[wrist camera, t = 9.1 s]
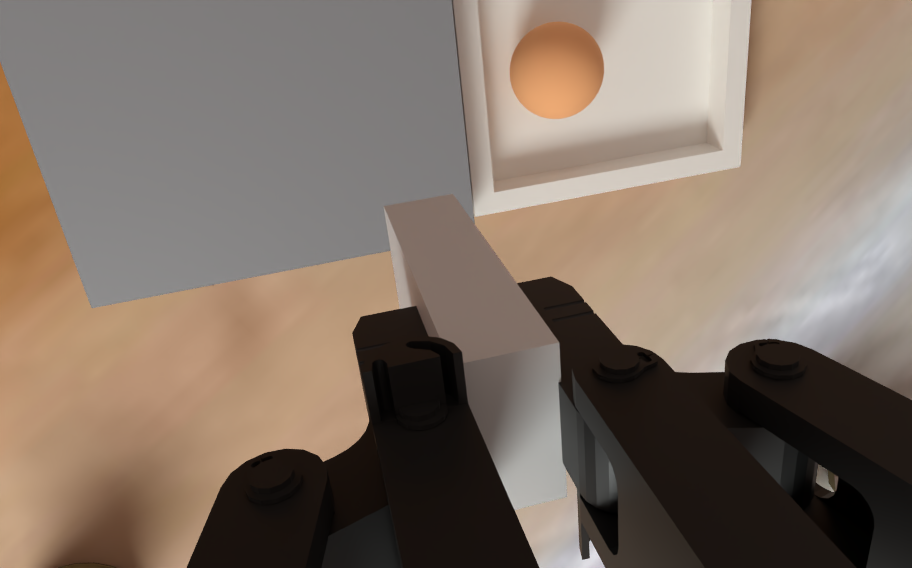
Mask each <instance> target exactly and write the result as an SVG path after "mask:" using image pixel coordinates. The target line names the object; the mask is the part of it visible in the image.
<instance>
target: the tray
mask: <svg viewBox="0 0 912 568" xmlns="http://www.w3.org/2000/svg"><path fill="white" fill-rule="evenodd" d="M452 8H453V18H454V28H455V38H456V47H457V57H458V67H459V76H460V86H461V96H462V106H463V115H464V125H465V135H466V145H467V154H468V164H469V174H470V184H471V193H472V203H473V213H474V216H475V217H477V216H482V215H487V214H493V213H498V212H503V211H509V210H514V209H519V208H524V207H530V206H535V205H540V204H546V203H551V202H556V201H562V200H567V199H572V198H577V197H583V196H588V195H593V194H599V193H604V192H609V191H615V190H620V189H625V188H630V187H636V186H641V185H646V184H652V183H657V182H662V181H667V180H673V179H678V178H683V177H689V176H694V175H699V174H705V173H710V172H715V171H720V170H726V169H731V168H736V167H740V165H741V150H742V135H743V120H744V105H745V90H746V75H747V60H748V45H749V30H750V15H751V0H452ZM550 22H568V23H572V24H575V25H577V26H579V27H581V28H583V29H584V30H586V31H587V32H588V33H589V34H590V35H591V36H592V37H593V38H594V39H595V41H596V42H597V44H598V46H599V48H600V50H601V53H602V56H603V60H604V76H603V81H602V85H601V87H600V90H599V92H598V94H597V95H596V97H595V98H594V100H593V101H592V102H591V103H590V104H589V105H588V106H587V107H586V108H585V109H583V110H582V111H581V112H579V113H577V114H575V115H573V116H570V117H567V118H562V119H548V118H544V117H540V116H538V115H535V114H533V113H532V112H530V111H529V110H527V109H526V108H525V107H524V106H523V105H522V104H521V103H520V101H519V100H518V99H517V97H516V95H515V94H514V91H513V89H512V86H511V82H510V62H511V59H512V55H513V53H514V50H515V48H516V47H517V45H518V43H519V42H520V41H521V39H522V38H523V37H524V36H525V35H526V34H527V33H529V32H530V31H531V30H533V29H534V28H536V27H538V26H540V25H542V24H546V23H550Z"/></svg>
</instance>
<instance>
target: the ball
mask: <svg viewBox="0 0 912 568" xmlns="http://www.w3.org/2000/svg"><path fill="white" fill-rule="evenodd" d="M603 76H604V60H603V56H602V53H601V50H600V48H599V46H598V44H597V42H596V41H595V39H594V38H593V37H592V36H591V35H590V34H589V33H588V32H587V31H586V30H584V29H583V28H581V27H579V26H577V25H575V24H572V23H568V22H550V23H546V24H542V25H540V26H538V27H536V28H534V29H533V30H531V31H530V32H529V33H527V34H526V35H525V36H524V37H523V38H522V39H521V41H520V42H519V43H518V45H517V47H516V48H515V50H514V53H513V55H512V59H511V62H510V82H511V86H512V89H513V91H514V94H515V95H516V97H517V99H518V100H519V101H520V103H521V104H522V105H523V106H524V107H525V108H526V109H527V110H529V111H530V112H532V113H533V114H535V115H538V116H540V117H544V118H548V119H562V118H567V117H570V116H573V115H575V114H577V113H579V112H581V111H582V110H583V109H585V108H586V107H587V106H588V105H589V104H590V103H591V102H592V101H593V100H594V98H595V97H596V95H597V94H598V92H599V90H600V87H601V85H602V81H603Z"/></svg>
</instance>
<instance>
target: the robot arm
mask: <svg viewBox="0 0 912 568" xmlns="http://www.w3.org/2000/svg"><path fill="white" fill-rule="evenodd" d="M384 212H385V218H386V224H387V231H388V237H389V243H390V250H391V256H392V262H393V269H394V275H395V281H396V288H397V294H398V300H399V306H400V309H397V310H392V311H387V312H382V313H377V314H372V315H367V316H362V317H361V318H360V320H359V321H358V323H357V325H356V327H355V329H354V331H353V333H352V334H353V339H354V344H355V350H356V355H357V360H358V365H359V370H360V375H361V380H362V386H363V391H364V396H365V401H366V406H367V411H368V416H369V424H368V426H367V429H366V431H365V433H364V434H363V435H362V437H361V438H360V439H359V440H358V441H357V442H356V443H355V444H354V445H352V446H351V447H350V448H349V449H347V450H346V451H344V452H342V453H340V454H339V455H337V456H335V457H333V458H331V459H329V460H327V461H324V462H323V461H322V460H321V459H320V457H319V456H318V455H315V454H313V453H310V452H308V451H306V450H299V449H282V450H277V451H272V452H267V453H264V454H262V455H259V456H257V457H255V458H253V459H250V460H248V461H246V462H245V463H243V464H242V465H241V466H240V467H238V468H237V469H236V470H234V471H233V472H232V473H231V474H230V475H229V477H228V478H227V479H226V481H225V482H224V484H223V485H222V487H221V488H220V491H219V493H218V495H217V498H216V500H215V502H214V505H213V507H212V509H211V512H210V514H209V516H208V519H207V521H206V523H205V526H204V528H203V531H202V533H201V535H200V538H199V540H198V542H197V545H196V547H195V549H194V552H193V554H192V556H191V559H190V561H189V563H188V566H187V568H539V566H538V564H537V561H536V559H535V557H534V554H533V552H532V550H531V547H530V545H529V543H528V541H527V538H526V536H525V534H524V531H523V529H522V527H521V524H520V522H519V520H518V517H517V515H516V513H515V510H517V509H521V508H525V507H529V506H533V505H537V504H541V503H545V502H549V501H553V500H557V499H561V498H565V497H567V484H566V470H567V471H568V473H569V475H570V477H571V478H572V480H573V482H574V484H575V486H576V487H577V499H578V523H579V546H580V552H581V556H582V560H584V559H588V558H590V556H589V541H590V539H591V541H592V543H593V545H594V547H595V549H596V551H597V553H598V555H599V556H600V558H601V560H602V562H603V564H604V566H605V568H912V400H910V399H908V398H906V397H904V396H902V395H900V394H898V393H896V392H895V391H893V390H891V389H889V388H887V387H885V386H883V385H881V384H879V383H877V382H875V381H873V380H871V379H869V378H867V377H865V376H863V375H861V374H859V373H857V372H855V371H853V370H851V369H850V368H848V367H846V366H844V365H842V364H840V363H838V362H836V361H834V360H832V359H830V358H828V357H826V356H824V355H822V354H820V353H818V352H816V351H814V350H812V349H810V348H807V347H804V346H802V345H799V344H796V343H793V342H787V341H781V340H777V339H768V340H765V339H763V340H754V341H750V342H746V343H742V344H740V345H738V346H736V347H735V348H733V349H732V350H730V351H729V353H728V356H727V358H726V360H725V372H709V373H682V372H674V370H673V369H672V368H671V367H670V366H669V365H668V364H667V363H666V362H665V361H664V360H663V359H662V358H661V357H659V356H658V355H656V354H655V353H654V352H652V351H650V350H647V349H644V348H641V347H638V346H632V345H623V344H622V343H621V342H620V341H619V340H618V339H617V337H616V336H615V335H614V334H613V333H612V332H611V331H610V329H609V328H608V327H607V326H606V325H605V324H604V322H603V321H602V320H601V319H600V318H599V317H598V316H597V314H596V313H595V314H594V313H593V310H592V309H591V307H590V306H589V305H588V304H587V303H586V302H585V303H584V299H583V298H582V297H581V296H580V295H579V294H578V293H577V291H576V290H575V289H574V288H573V287H572V286H570V285H568V284H566V283H564V282H562V281H560V280H557V279H555V278H553V277H547V278H542V279H537V280H532V281H527V282H522V283H516V281H515V280H514V279H513V277H512V276H511V274H510V273H509V272H508V270H507V269H506V267H505V266H504V265H503V263H502V262H501V260H500V259H499V258H498V256H497V255H496V253H495V252H494V251H493V249H492V248H491V246H490V245H489V244H488V242H487V241H486V239H485V238H484V237H483V235H482V234H481V232H480V231H479V230H478V228H477V227H476V225H475V224H474V223H473V221H472V220H471V219H470V217H469V216H468V214H467V213H466V212H465V210H464V209H463V207H462V206H461V205H460V203H459V202H458V200H457V199H456V198H455V196H454V195H453V194H449V195H444V196H438V197H432V198H427V199H421V200H416V201H410V202H404V203H399V204H393V205H387V206H384ZM818 464H820V465H821V466H823V467H824V468H826V469H827V470H829V471H830V472H832V473H833V474H835V475H836V476H838V483H837V489H836V491H835V492H831V491H829V490H827V489H825V488H823V487H821V486H820V485H818V484H817V483H816V476H817V469H818Z"/></svg>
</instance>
